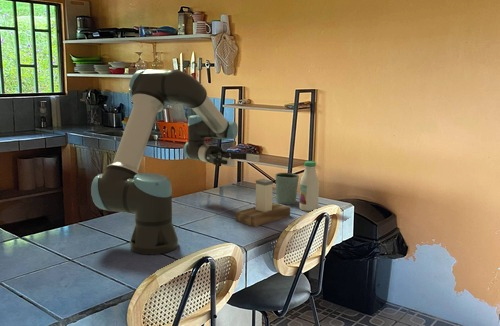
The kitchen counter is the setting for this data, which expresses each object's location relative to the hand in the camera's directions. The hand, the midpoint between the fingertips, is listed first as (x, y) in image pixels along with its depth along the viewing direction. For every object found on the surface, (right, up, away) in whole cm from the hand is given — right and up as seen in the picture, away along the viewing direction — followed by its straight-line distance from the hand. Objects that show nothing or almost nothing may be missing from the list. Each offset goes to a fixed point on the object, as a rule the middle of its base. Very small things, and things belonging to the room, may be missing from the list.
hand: (246, 161), depth 193 cm
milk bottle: (+26, -20, +11) cm, 34 cm away
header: (+7, -22, -3) cm, 23 cm away
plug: (+7, -22, -3) cm, 23 cm away
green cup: (+17, -18, +22) cm, 33 cm away
